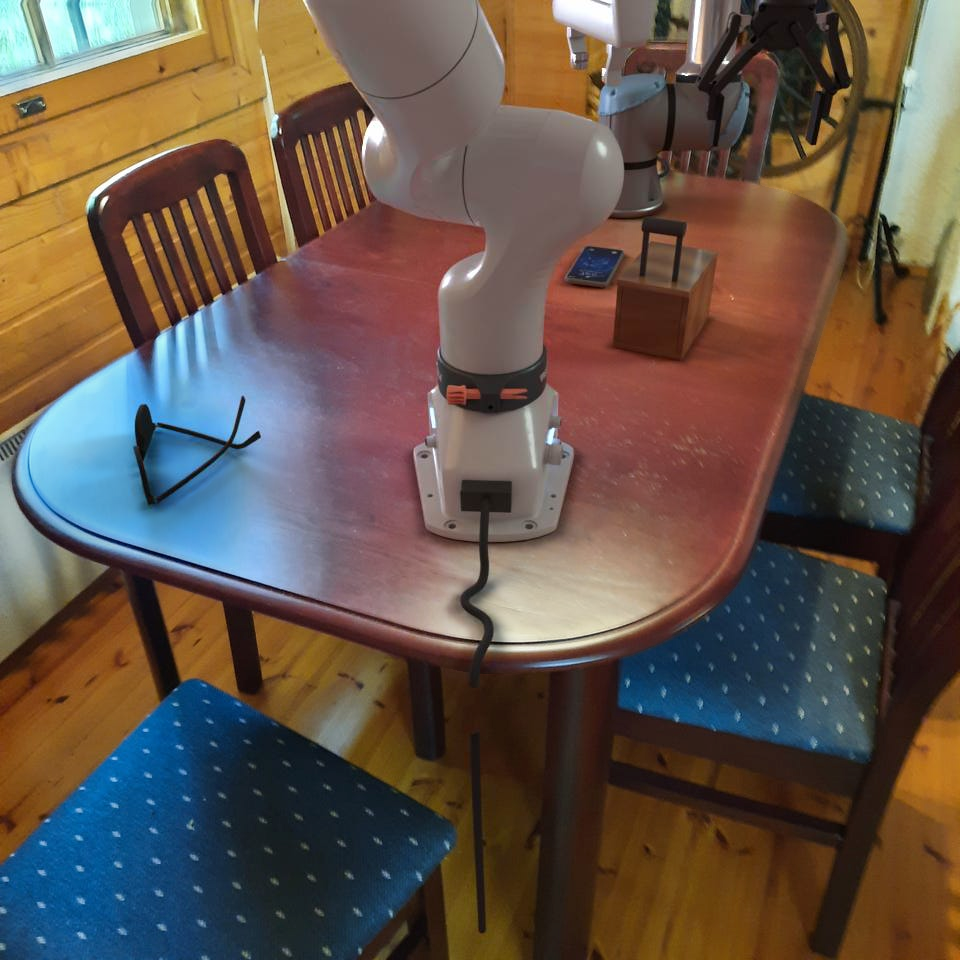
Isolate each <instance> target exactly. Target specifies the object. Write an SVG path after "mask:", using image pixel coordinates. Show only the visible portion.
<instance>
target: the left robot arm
mask: <svg viewBox="0 0 960 960" xmlns="http://www.w3.org/2000/svg"><path fill="white" fill-rule="evenodd" d="M302 1H303V3H304V5H305V8H306V9H307V12H308V13H309V15H310V18H311V19H312V22H313V24H314V27H315V28H316V30H317V31H318V33H319V36H320V37H321V39H322V40H323V42H324V44H325V46H326V48H327V49H328V51H329V52H330V53H331V56H332V57H333V59H334V60H335V62H336V63H337V65H338V66H339V68H340V69H341V71H342V72H343V73H344V75H345V76H346V77H347V79H348V80H349V81H350V82H351V84H352V85H353V87H354V88H355V89H356V90H357V92H358V94H359V95H360V96H361V98H362V99H363V100H364V102H365V103H366V105H367V106H368V107H369V109H370V110H371V112H372V113H373V115H374V116H373V117H372V119H371V120H370V123H368V126H367V128H366V130H365V134H364V137H363V142H362V145H361V146H362V147H361V164H362V171H363V174H364V178H365V180H366V181H365V182H366V184H367V185H368V188H369V190H370V192H371V193H372V194H373V196H374V198H375V199H376V200H377V201H379V202H380V203H382V204H384V205H387V206H389V207H391V208H394V209H396V210H399V211H401V212H404V213H406V214H409V215H411V216H414V217H417V218H421V219H424V220H431V221H438V222H445V223H452V224H459V225H464V226H472V227H478V228H481V229H483V230H484V233H485V249H484V250H481V251H479V252H477V253H473V254H471V255H469V256H467V257H465V258H462V259H461V260H459V261H458V262H455V263H454V264H453V265H452V266H451V267H450V268H449V269H448V270H447V271H446V273H445V274H444V275H443V277H442V278H441V281H440V284H439V287H438V290H437V307H438V324H439V326H438V327H439V340H440V341H439V342H440V345H439V346H438V348H437V354H436V356H437V358H436V363H435V364H436V376H437V384H436V385H435V387H434V386H433V388H432V389H431V390H430V391H428V392H427V406H428V407H427V409H428V424H429V435H426V436H425V438H424V442H422V443H419V444H417V445H416V446H415V447H414V448H413V454H412V455H413V457H412V458H413V464H414V470H415V475H416V476H415V477H416V480H417V487H418V492H419V498H420V499H419V500H420V503H421V504H420V505H421V510H422V516H423V522H424V526H425V529H426V530H427V531H428V532H429V533H432V534H434V535H437V536H440V537H443V538H448V539H452V540H457V541H466V542H477V543H478V552H479V553H478V554H479V575H478V577H477V578H478V579H477V580H476V581H475V583H474V584H472V585H471V586H470V587H468V588H467V589H466V590H464V591H463V592H462V593H461V595H460V600H459V601H460V606H461V608H462V609H463V611H465V612H466V613H467V614H468V615H470V616H471V617H474V618H476V619H477V620H479V621H480V622H481V623H482V625H483V635H482V638H481V640H480V642H479V644H478V645H477V647H476V649H475V651H474V653H473V657H472V659H471V662H470V668H469V676H468V685H469V687H470V688H472V689H475V688H477V687H478V686H479V683H480V673H481V667H482V664H483V660H484V657H485V655H486V653H487V651H488V650H489V647H490V645H491V644H492V642H493V638H494V630H495V628H494V623H493V621H492V618H491V617H490V616H489V615H488V614H487V613H486V612H485V611H484V610H482V609H480V608H479V607H476V606H475V605H473V604H472V603H471V601H470V599H471V598H472V597H473V596H475V595H476V594H478V593H480V592H481V591H482V590H483V589H484V588H485V586H486V585H487V582H488V579H489V574H490V557H489V543H500V542H501V543H502V542H503V543H506V542H518V541H527V540H531V539H536V538H539V537H543V536H546V535H548V534H550V533H552V532H554V531H556V530H557V527H558V525H559V520H560V518H561V517H560V516H561V512H562V508H563V504H564V500H565V497H566V492H567V488H568V483H569V480H570V476H571V472H572V469H573V468H572V467H573V464H574V459H575V450H574V447H573V446H571V445H570V444H568V443H566V442H563V441H561V439H560V438H558V430H560V429H561V428H562V416H559V392H557V391H556V390H555V389H554V388H553V387H552V386H551V385H550V384H549V383H548V382H547V379H548V367H549V361H548V356H547V355H548V354H547V353H548V351H547V347H546V345H545V344H544V332H545V331H544V330H545V329H544V328H545V316H546V303H547V298H548V297H547V296H548V290H549V286H550V281H551V279H552V276H553V274H554V272H555V269H556V268H557V266H558V264H559V263H560V261H561V259H562V258H564V255H565V254H566V253H567V252H568V251H569V250H570V249H571V248H572V247H573V246H574V245H576V244H577V243H578V242H580V241H581V240H582V239H584V238H585V237H587V236H589V235H591V234H593V233H594V232H596V231H597V229H599V228H600V227H601V226H602V225H604V223H605V222H606V221H607V220H608V219H609V218H610V217H609V216H610V215H611V213H612V212H613V210H614V208H615V207H616V205H617V202H618V200H619V198H620V195H621V191H622V187H623V181H624V163H623V157H622V153H621V149H620V147H619V144H618V142H617V140H616V138H615V136H614V134H613V133H612V131H611V130H610V129H609V127H608V126H606V125H604V124H601V123H598V122H599V121H595V120H593V119H590V118H587V117H585V116H581V115H578V114H576V113H575V114H574V113H572V112H568V111H565V110H561V109H554V108H553V109H552V108H542V107H541V108H540V107H530V106H522V105H521V106H519V105H509V104H501V103H502V99H503V97H504V91H505V86H506V66H505V58H504V54H503V51H502V49H501V47H500V45H499V43H498V40H497V39H496V36H495V34H494V32H493V30H492V28H491V26H490V24H489V21H488V19H487V16H486V15H485V12H484V11H483V8H482V7H481V4H480V2H479V0H302ZM655 3H656V0H552V4H551V5H552V8H551V9H552V11H551V12H552V16H553V20H554V22H555V23H558V24H559V25H562V26H564V27H566V40H567V44H568V48H569V52H570V61H569V62H570V64H569V65H570V68H572V69H574V70H576V71H583V70H587V69H588V67H589V52H587V45H586V44H587V43H586V37H587V36H588V37H590V38H593V39H595V40H597V41H599V42H602V43H605V44H606V50H605V51H606V52H605V53H606V55H607V60H606V64H605V67H602V69H601V76H602V77H601V83H602V84H603V85H604V86H605V85H607V86H609V87H612V86H618V85H620V83H621V77H622V74H623V73H622V72H623V69H624V66H625V63H626V62H627V58H628V56H629V50H630V49H634V48H642V47H644V46H646V44H647V42H648V40H649V38H650V36H651V32H652V28H653V19H654V11H655ZM469 741H470V742H469V745H470V746H469V747H470V777H471V778H470V779H471V780H470V781H471V784H470V785H471V804H472V806H471V807H472V808H471V809H472V810H471V811H472V830H473V850H474V851H473V852H474V868H475V870H474V871H475V888H476V889H475V891H476V910H477V929H478V933H479V934H485V933H486V931H487V918H486V917H487V916H486V889H485V865H484V864H485V862H484V861H485V860H484V841H483V840H484V839H483V838H484V837H483V816H482V815H483V812H482V811H483V809H482V808H483V807H482V775H481V771H482V770H481V769H482V768H481V731H478V732H475V733H471V734H469Z"/></svg>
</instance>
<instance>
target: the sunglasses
mask: <svg viewBox="0 0 960 960" xmlns="http://www.w3.org/2000/svg"><path fill="white" fill-rule="evenodd" d="M245 404H246V398H245V396H244V395H241V396H240V401H239V405H238V408H237V409H238V410H237V413H236V417H235V421H234V425H233V429H232V432H231V435H230V437H229V439H228V440H227V441H226V440H223V439H220V438H217V437H214V436H211V435H208V434H204V433H201V432H198V431H195V430H192V429H188V428H184V427H180V426H176V425H172V424H169V423H164V422H159V421H157V422H153V418H152V414H151V411H150V408H149V406H148V404H146V403H142V404H140V405H139V406H138V409H137V411H136V413H135V418H134V436H135V444H136V445H133V447H132V448H133V452H134V455H135V460H136V463H137V467H138V471H139V475H140V479H141V485H142V489H143V493H144V497H145V500H146V503H147V505H148V506H151V505H154V504H155V501H156V503H157V504H160V503H162V501H164V500H165V499H167V498H168V497H170V496H171V495H172V494H174V493H175V492H177V491H178V490H179V489H181V488H182V487H184V486H185V485H187V484H188V483H189V482H191V481H192V480H193V479H194V478H196V477H197V476H198V475H200V474H202V473H203V472H204V471H205V470H206V469H208V467H210V466H211V465H212V464H213V463H215V462H216V461H217V460H218V459H220V457H222V455H223V454H224V453H225V452H226V451H228V449H229V448H231V449H233V450H242V449H246V448H247V447H249V446H250V445H252V444H254V443H255V442H256V441H258V440H260V439H261V438H262V435H261V432H260V430H256V431H255V432H254V433H253V434H252V435H250V436H249V437H248V438H247V439H246V440H245V441H244V442H241V443H233V442H234V441H235V438H236V435H237V434H238V429H239V426H240V423H241V419H242V415H243V412H244V409H245ZM157 428H160V429H164V430H168V431H172V432H175V433H179V434H183V435H188V436H191V437H195V438H199V439H202V440H205V441H209V442H211V443H215V444H218V445H221V446H223V447H221V449H220V450H219V451H217V452H216V453H215V454H214V455H213V456H212V457H211V458H209V459H208V460H207V461H206V462H204V463H203V464H202V465H200V466H199V467H198V468H196V469H195V470H193V471H192V472H191V473H189V474H188V475H187V476H186V477H184V478H183V479H180V481H178V482H177V483H176V484H174V485H172V486H171V487H169V488H168V489H166V490H165V491H163V492H162V493H161V494H160V495H158V496H157V497H154V495H152V491H151V487H150V484H149V479H148V474H147V470H146V467H145V463H144V461H145V459H146V456H147V453H148V450H149V448H150V445H151V442H152V438H153V435H154V432H155V430H157Z"/></svg>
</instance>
